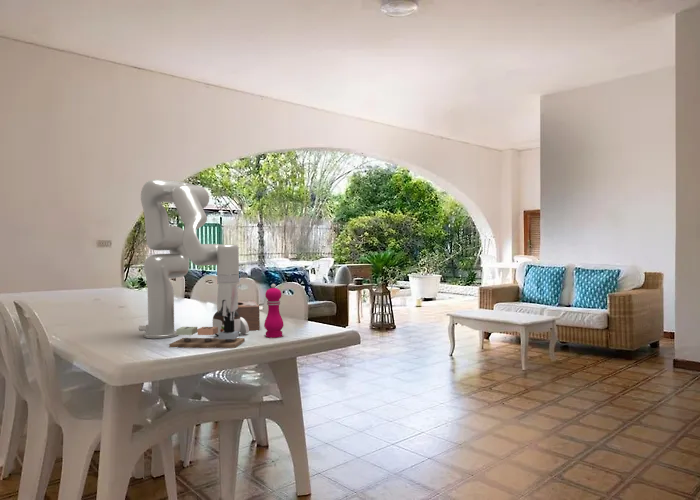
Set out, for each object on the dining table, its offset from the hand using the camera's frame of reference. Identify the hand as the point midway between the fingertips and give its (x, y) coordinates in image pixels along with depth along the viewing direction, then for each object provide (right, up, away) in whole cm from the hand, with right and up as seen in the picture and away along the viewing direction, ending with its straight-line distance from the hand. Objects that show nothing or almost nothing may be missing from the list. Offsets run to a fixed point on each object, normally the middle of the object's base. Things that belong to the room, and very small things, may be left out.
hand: (229, 331), depth 193 cm
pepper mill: (+14, -4, +16) cm, 21 cm away
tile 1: (-15, -1, +1) cm, 15 cm away
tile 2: (-8, -1, +1) cm, 8 cm away
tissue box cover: (-5, -4, +41) cm, 42 cm away
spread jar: (-3, -5, +19) cm, 20 cm away
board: (-8, -5, +1) cm, 9 cm away
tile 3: (0, -2, 0) cm, 2 cm away
